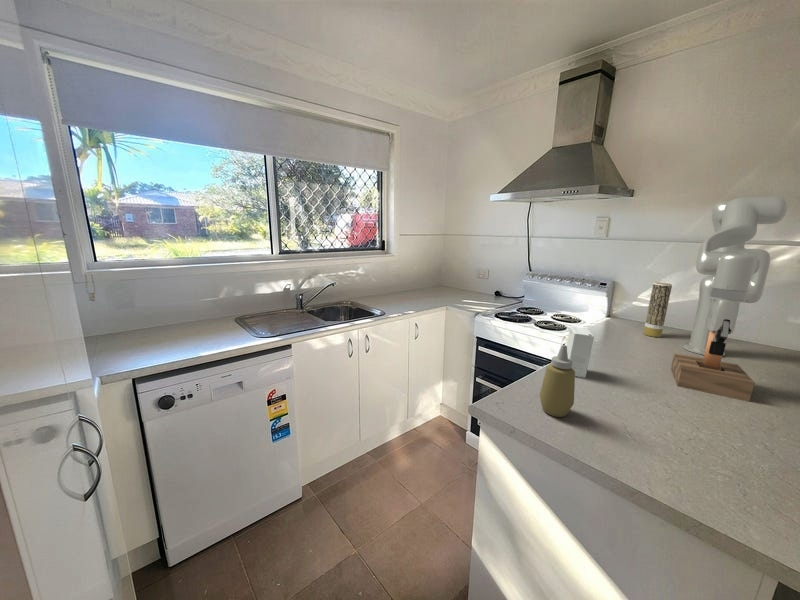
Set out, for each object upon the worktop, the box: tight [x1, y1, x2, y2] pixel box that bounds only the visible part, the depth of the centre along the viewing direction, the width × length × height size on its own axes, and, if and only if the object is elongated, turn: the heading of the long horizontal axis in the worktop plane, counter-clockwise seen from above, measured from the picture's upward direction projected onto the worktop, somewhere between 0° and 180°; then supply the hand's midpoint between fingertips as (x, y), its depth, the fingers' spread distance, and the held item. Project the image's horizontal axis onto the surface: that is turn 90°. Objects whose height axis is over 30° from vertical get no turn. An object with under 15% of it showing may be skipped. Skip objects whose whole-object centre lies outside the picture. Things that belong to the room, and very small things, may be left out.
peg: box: [702, 330, 723, 367], centre depth 101 cm, size 4×4×14 cm
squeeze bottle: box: [539, 344, 576, 418], centre depth 83 cm, size 8×8×18 cm
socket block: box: [670, 352, 755, 402], centre depth 104 cm, size 16×16×6 cm
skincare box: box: [566, 325, 595, 379], centre depth 108 cm, size 8×6×15 cm
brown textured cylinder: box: [643, 282, 673, 338], centre depth 152 cm, size 7×7×25 cm
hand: (713, 351), depth 102 cm, fingers closed on peg, 4 cm apart
